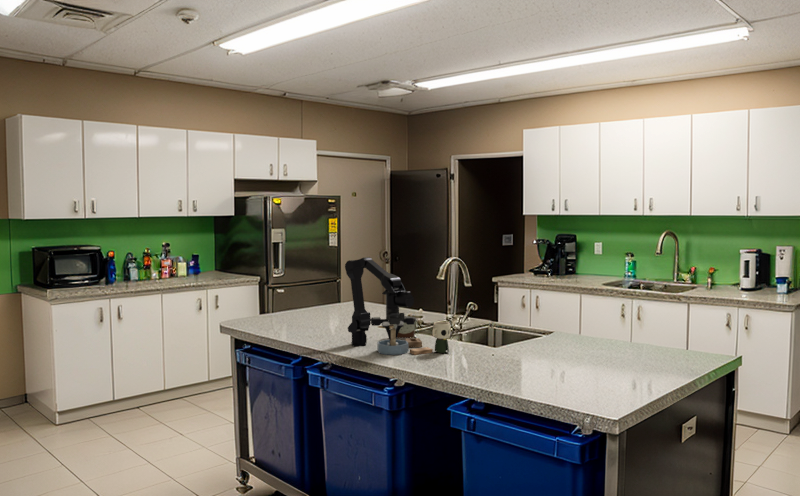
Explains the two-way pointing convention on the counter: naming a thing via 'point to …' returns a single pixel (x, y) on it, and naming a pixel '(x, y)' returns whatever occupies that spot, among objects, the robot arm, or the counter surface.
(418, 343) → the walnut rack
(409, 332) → the food container
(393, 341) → the bar
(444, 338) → the character mug
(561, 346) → the counter surface
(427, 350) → the tapered wooden plank
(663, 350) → the counter surface
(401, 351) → the blue octagonal bowl
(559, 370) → the counter surface
